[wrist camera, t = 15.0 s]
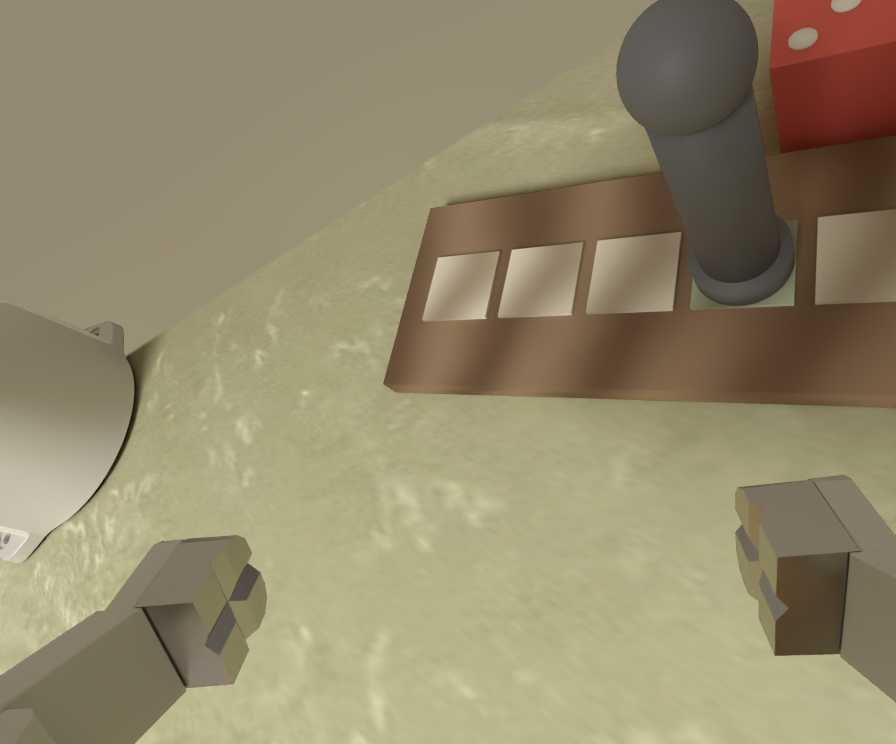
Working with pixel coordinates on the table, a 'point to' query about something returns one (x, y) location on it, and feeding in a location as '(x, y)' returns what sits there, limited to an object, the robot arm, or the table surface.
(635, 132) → the table surface
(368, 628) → the table surface
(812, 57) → the red die
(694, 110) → the pawn
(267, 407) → the table surface
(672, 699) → the table surface
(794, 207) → the track board
